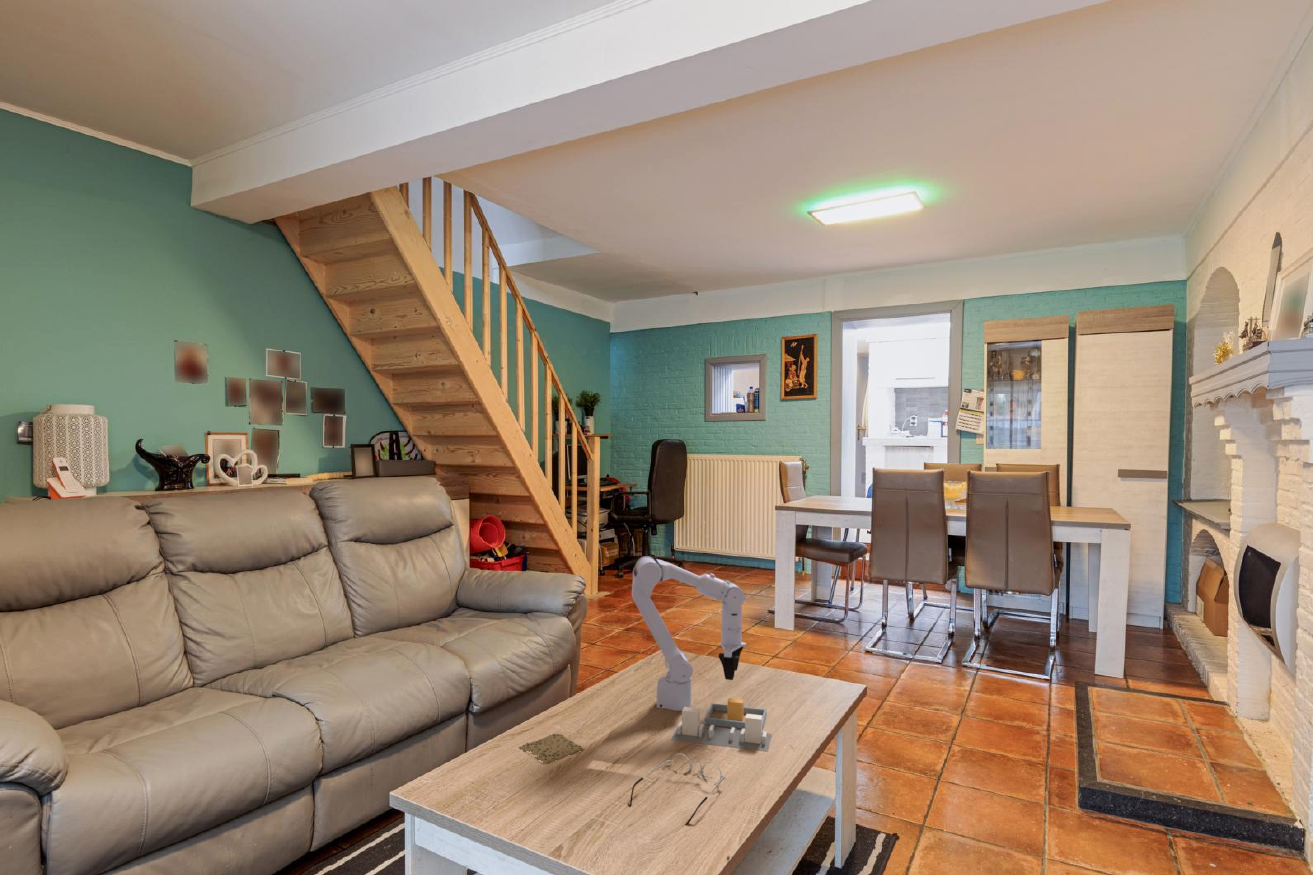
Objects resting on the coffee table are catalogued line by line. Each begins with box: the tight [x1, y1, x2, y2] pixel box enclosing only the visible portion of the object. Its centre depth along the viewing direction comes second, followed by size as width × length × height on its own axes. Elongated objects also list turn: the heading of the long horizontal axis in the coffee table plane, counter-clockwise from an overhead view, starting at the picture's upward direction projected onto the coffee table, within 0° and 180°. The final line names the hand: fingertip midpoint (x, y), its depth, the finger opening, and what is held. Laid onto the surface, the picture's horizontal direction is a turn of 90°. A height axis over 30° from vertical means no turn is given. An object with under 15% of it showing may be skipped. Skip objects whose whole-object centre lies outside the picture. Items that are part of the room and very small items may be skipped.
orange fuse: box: [726, 697, 745, 722], centre depth 185 cm, size 4×3×6 cm, turn 76°
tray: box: [704, 703, 767, 732], centre depth 185 cm, size 15×10×3 cm
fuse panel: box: [670, 720, 773, 753], centre depth 174 cm, size 24×10×4 cm, turn 75°
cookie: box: [518, 733, 585, 765], centre depth 170 cm, size 12×12×1 cm
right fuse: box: [744, 714, 763, 744], centre depth 172 cm, size 4×3×6 cm, turn 76°
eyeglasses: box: [629, 753, 726, 826], centre depth 149 cm, size 16×19×5 cm
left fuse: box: [681, 706, 701, 736], centre depth 176 cm, size 4×3×6 cm, turn 76°
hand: (731, 674), depth 196 cm, fingers open, 7 cm apart
